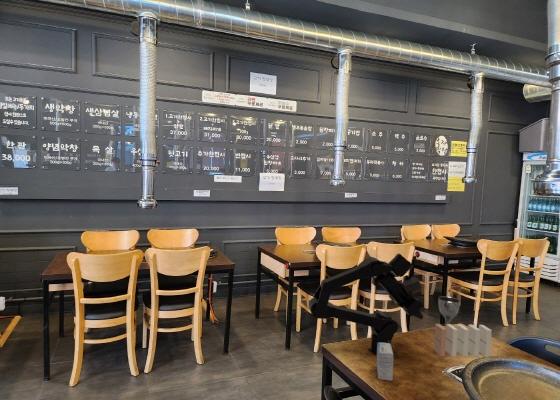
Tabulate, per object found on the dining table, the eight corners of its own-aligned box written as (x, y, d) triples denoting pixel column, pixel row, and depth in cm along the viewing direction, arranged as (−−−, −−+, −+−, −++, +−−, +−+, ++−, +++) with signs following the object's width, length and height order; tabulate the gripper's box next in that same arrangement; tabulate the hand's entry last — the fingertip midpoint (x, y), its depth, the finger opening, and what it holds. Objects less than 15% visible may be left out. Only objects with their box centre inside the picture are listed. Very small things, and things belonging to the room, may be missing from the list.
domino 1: (440, 356, 128) (442, 329, 127) (433, 350, 133) (435, 323, 132) (445, 356, 128) (446, 329, 127) (438, 350, 133) (439, 323, 132)
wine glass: (461, 339, 144) (463, 302, 143) (441, 338, 144) (443, 301, 143) (452, 331, 152) (454, 296, 151) (433, 330, 152) (435, 295, 151)
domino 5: (485, 357, 128) (487, 330, 128) (477, 351, 133) (478, 324, 133) (490, 357, 129) (491, 330, 128) (481, 351, 134) (483, 324, 133)
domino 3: (463, 356, 128) (464, 329, 128) (455, 350, 133) (457, 324, 133) (467, 357, 128) (469, 329, 128) (459, 350, 133) (461, 324, 133)
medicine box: (392, 381, 109) (393, 354, 109) (377, 379, 110) (379, 352, 110) (389, 369, 117) (391, 343, 117) (375, 367, 118) (377, 341, 118)
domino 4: (474, 357, 128) (476, 329, 128) (466, 350, 133) (468, 324, 133) (478, 357, 128) (480, 330, 128) (470, 350, 133) (472, 324, 133)
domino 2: (451, 356, 128) (453, 329, 128) (444, 350, 133) (446, 324, 132) (456, 356, 128) (457, 329, 128) (449, 350, 133) (450, 324, 133)
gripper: (419, 276, 119) (449, 310, 120) (398, 264, 138) (424, 293, 139) (395, 299, 119) (425, 332, 120) (377, 284, 138) (403, 313, 139)
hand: (419, 316), depth 129 cm, fingers open, 4 cm apart
